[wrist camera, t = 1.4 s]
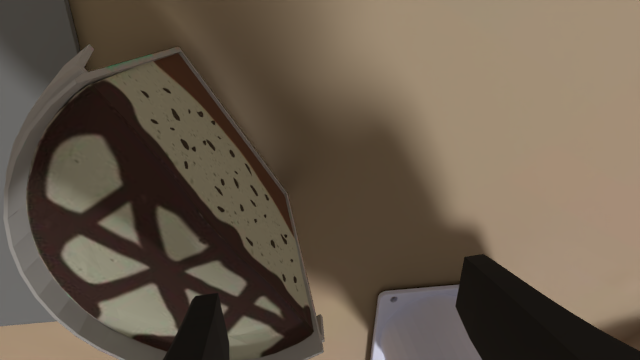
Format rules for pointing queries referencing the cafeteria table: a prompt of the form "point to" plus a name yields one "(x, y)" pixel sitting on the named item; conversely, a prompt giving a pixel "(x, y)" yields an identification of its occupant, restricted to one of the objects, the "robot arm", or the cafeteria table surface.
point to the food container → (153, 215)
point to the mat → (12, 109)
